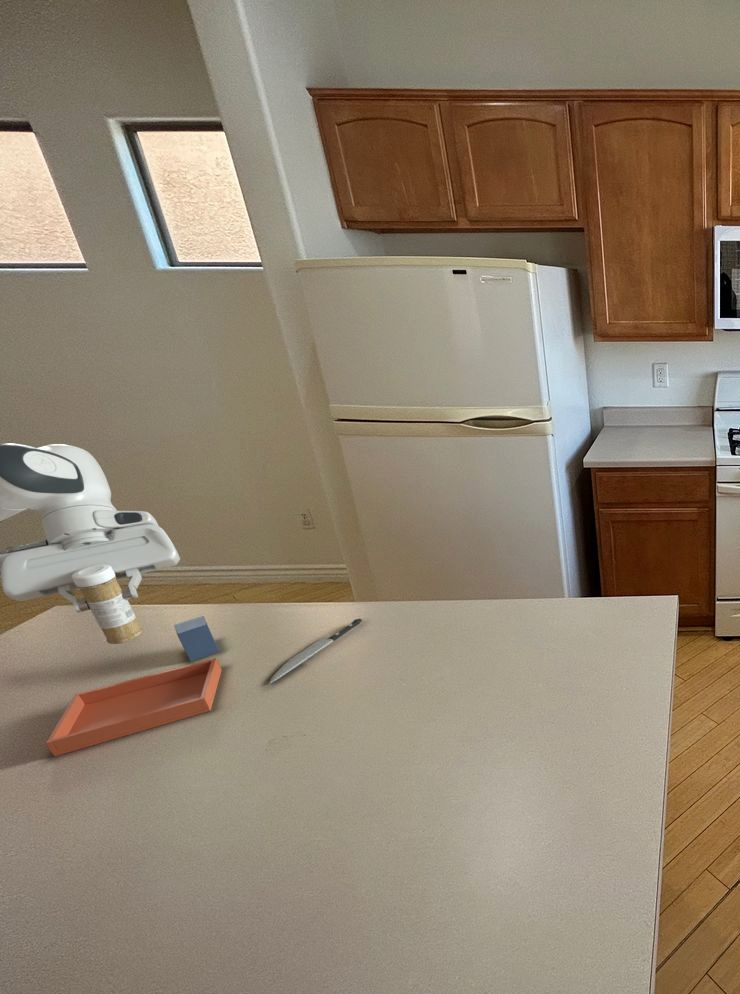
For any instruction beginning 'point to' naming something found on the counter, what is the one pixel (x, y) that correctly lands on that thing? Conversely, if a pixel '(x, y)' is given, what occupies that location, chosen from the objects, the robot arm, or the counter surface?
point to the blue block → (196, 638)
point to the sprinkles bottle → (108, 603)
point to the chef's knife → (311, 651)
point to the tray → (135, 706)
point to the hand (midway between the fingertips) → (108, 603)
